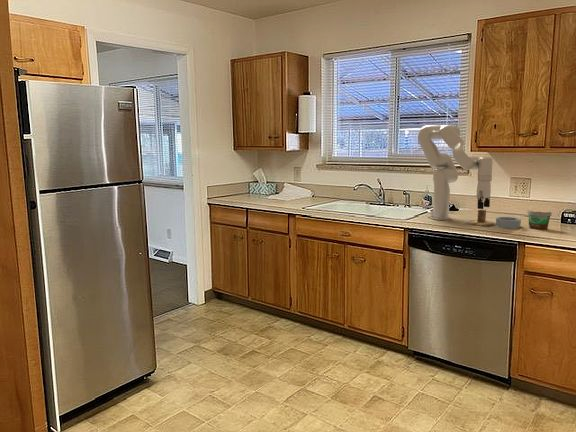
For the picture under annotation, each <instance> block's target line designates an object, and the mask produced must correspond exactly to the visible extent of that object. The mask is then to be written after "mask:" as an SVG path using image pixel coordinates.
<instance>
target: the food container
mask: <svg viewBox="0 0 576 432" xmlns="http://www.w3.org/2000/svg"><path fill="white" fill-rule="evenodd" d="M527 215H528V229H532V230H537V231H539V230H540V231H545V230H548V228H549V222H550V218H551V217H552V215H553V214H552V211H547V212H545V211H544V212H543V211H532V210H529V209H528V211H527Z"/></svg>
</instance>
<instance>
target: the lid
mask: <svg viewBox="0 0 576 432" xmlns="http://www.w3.org/2000/svg"><path fill="white" fill-rule="evenodd" d="M486 216H487V209H478V210H477V219H471V220H469V221H468V222H469V224H471V225H470V226H473V225H476V226H475V227H481V226H491V227H493V225H494V223H495V222H494V221H491V220H486V218H487V217H486ZM494 226H495V225H494Z"/></svg>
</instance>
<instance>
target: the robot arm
mask: <svg viewBox="0 0 576 432" xmlns="http://www.w3.org/2000/svg"><path fill="white" fill-rule="evenodd" d="M433 140H443V142H444V143H445V144H446V145H447V146H448V148H449V149H450V150H451V151H452V155H453V158H454V161H455V162H456V163H457V164H458V165H459V166H460V167H461V168H462V170H466V171H470V170H472V171H473V170H477V185H476V197H475V198H477V209H478V210H484V208H490V207H491V193H492V191H491V190H492V189H491V187H492V186H491V184H492V183H491V182H492V179H493V158H492V157H490V156H482V157H480V156H469V155H468V154H467V153H466V152H465V151H464V148H463V147H464V145H465V141H464V139H463V138H462V137H461V129H460V128H459V127H458V126H457V125H451V124H450V125H449V124H448V125H431V124H430V125H424V126H422V127H421V128H420V129H419V131H418V134H417V141H418V144H419V146H420V148H421V151H423V154H424V156H425V158H426V160H427V162H428V164H429V167H430V168H433V169H436V170H435V171H434V173H433V176H432V178H433V179H432V181H433V202H432V203H433V205H432V210H427V215H430V217H429V218H430V219H431V220H437V221H446V220H451V219H452V216H450V215H449V213H450V198H451V190H450V189H451V188H450V184H451V183H455V182H456V181H457V180H458V178H459V173H458V169H457V167H456V165H455V164H454V161H453V159H452V157H451V156H450V155H449V154H448V153H446V152H445V153H444V152H440V151H439V148H438V146H437V145H436V143H435V142H434V141H433Z"/></svg>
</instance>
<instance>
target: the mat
mask: <svg viewBox="0 0 576 432" xmlns="http://www.w3.org/2000/svg"><path fill="white" fill-rule="evenodd" d="M463 225H468V226H475V227H477V226H476V225H471V224H469V221H468V222H464V223H463ZM493 226H496V222H494V225H493ZM493 226H480V227H481V228H483V227H484V228H490V227H493Z"/></svg>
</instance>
